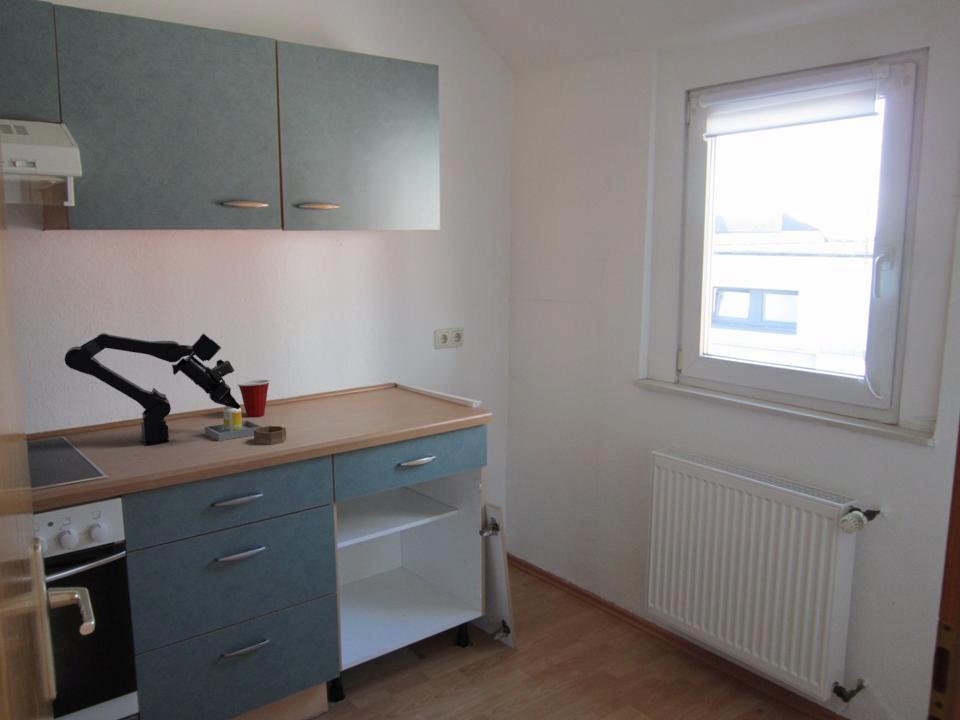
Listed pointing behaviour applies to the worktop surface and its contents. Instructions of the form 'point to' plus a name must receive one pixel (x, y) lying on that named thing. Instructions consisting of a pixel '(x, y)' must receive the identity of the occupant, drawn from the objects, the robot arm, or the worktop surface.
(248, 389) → the plastic cup
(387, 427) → the worktop surface
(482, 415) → the worktop surface
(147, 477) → the worktop surface
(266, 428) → the cup holder
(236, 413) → the supplement bottle
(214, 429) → the tray
